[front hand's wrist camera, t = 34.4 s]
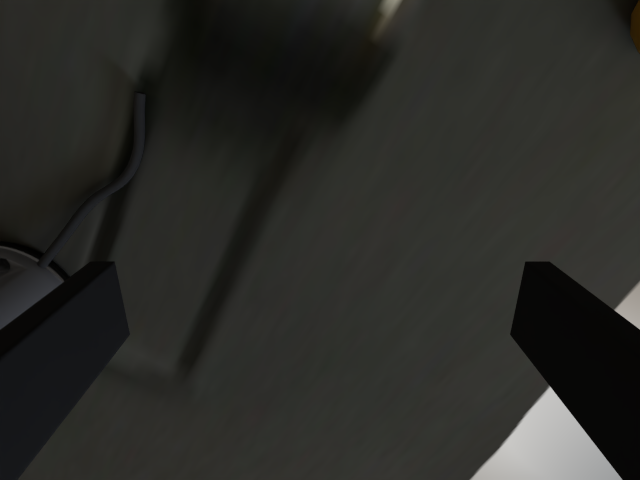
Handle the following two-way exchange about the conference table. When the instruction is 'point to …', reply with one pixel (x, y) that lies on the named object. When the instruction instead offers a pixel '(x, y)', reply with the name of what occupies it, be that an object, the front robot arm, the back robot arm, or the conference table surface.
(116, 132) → the conference table surface
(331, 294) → the conference table surface
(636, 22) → the yellow bell pepper
